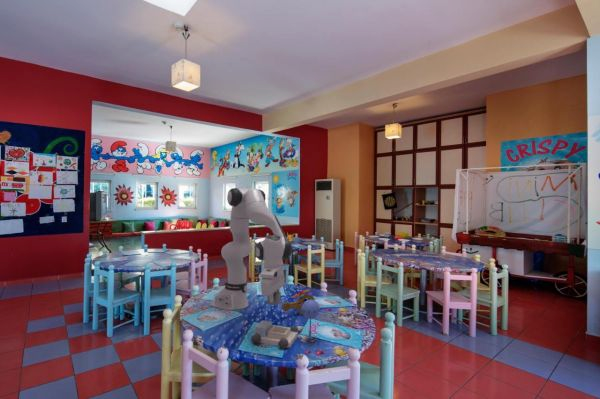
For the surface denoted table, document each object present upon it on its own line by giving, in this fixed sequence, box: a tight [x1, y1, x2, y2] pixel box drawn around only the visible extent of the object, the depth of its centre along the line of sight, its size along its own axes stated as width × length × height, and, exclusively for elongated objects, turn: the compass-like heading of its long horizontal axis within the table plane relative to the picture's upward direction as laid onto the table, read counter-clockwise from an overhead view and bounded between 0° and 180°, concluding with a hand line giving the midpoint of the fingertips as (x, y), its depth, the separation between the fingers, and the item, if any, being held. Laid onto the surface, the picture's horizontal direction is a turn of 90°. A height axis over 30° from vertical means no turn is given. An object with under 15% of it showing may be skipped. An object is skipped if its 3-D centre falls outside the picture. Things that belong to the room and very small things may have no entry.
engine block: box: [266, 291, 282, 306], centre depth 146 cm, size 5×4×6 cm
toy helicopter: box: [281, 288, 315, 316], centre depth 175 cm, size 8×21×14 cm, turn 122°
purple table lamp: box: [301, 299, 321, 341], centre depth 146 cm, size 9×9×18 cm
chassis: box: [250, 319, 299, 350], centre depth 145 cm, size 18×16×6 cm
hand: (274, 300), depth 146 cm, fingers closed on engine block, 4 cm apart
